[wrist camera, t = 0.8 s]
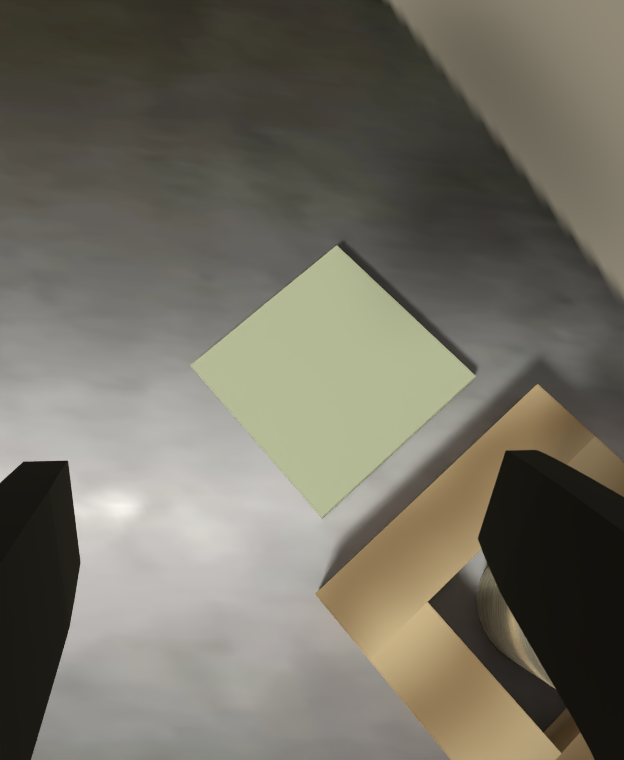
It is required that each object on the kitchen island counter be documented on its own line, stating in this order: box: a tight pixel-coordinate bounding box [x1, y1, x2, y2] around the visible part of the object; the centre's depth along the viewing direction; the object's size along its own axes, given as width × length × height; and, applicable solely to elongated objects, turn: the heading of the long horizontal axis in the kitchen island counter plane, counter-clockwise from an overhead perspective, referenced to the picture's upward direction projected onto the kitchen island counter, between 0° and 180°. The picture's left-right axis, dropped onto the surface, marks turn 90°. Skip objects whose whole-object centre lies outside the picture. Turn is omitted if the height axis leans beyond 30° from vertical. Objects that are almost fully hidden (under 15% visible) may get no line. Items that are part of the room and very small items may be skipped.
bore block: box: [315, 384, 624, 760], centre depth 20 cm, size 12×12×2 cm
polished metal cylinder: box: [477, 566, 556, 689], centre depth 18 cm, size 4×4×8 cm
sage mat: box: [190, 245, 476, 519], centre depth 25 cm, size 9×9×1 cm
